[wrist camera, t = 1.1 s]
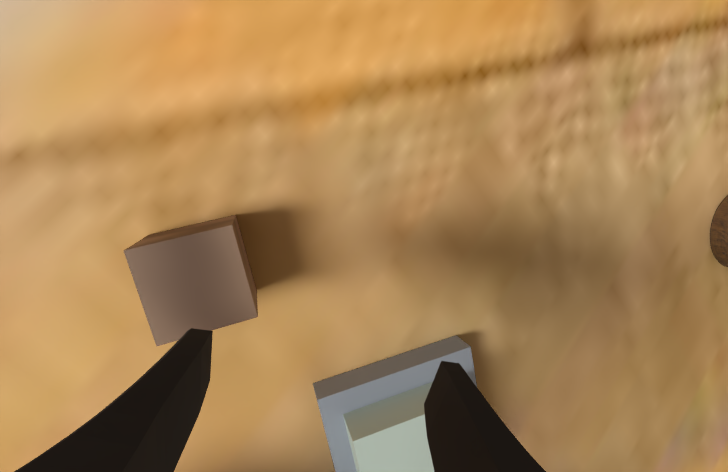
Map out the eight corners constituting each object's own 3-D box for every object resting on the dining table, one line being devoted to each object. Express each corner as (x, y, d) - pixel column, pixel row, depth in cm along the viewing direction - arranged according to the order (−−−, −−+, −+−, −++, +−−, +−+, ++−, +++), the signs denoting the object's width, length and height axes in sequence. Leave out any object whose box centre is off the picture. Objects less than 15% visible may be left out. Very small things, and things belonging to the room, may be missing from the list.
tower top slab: (366, 510, 25) (378, 545, 23) (342, 414, 24) (352, 441, 21) (464, 468, 27) (485, 497, 24) (448, 375, 25) (469, 397, 23)
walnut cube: (175, 312, 22) (156, 346, 18) (149, 234, 21) (123, 250, 17) (256, 289, 23) (257, 316, 19) (235, 214, 22) (231, 225, 18)
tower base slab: (344, 506, 28) (352, 537, 25) (311, 378, 26) (317, 399, 23) (472, 453, 30) (491, 477, 27) (451, 331, 28) (470, 346, 25)
